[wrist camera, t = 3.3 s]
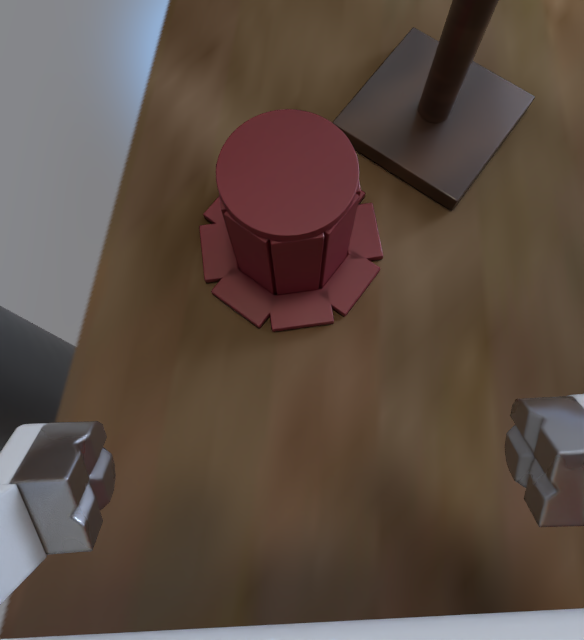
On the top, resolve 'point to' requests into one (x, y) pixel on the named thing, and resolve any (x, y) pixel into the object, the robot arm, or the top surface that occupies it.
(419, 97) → the hat stand
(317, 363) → the top surface
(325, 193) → the hat
